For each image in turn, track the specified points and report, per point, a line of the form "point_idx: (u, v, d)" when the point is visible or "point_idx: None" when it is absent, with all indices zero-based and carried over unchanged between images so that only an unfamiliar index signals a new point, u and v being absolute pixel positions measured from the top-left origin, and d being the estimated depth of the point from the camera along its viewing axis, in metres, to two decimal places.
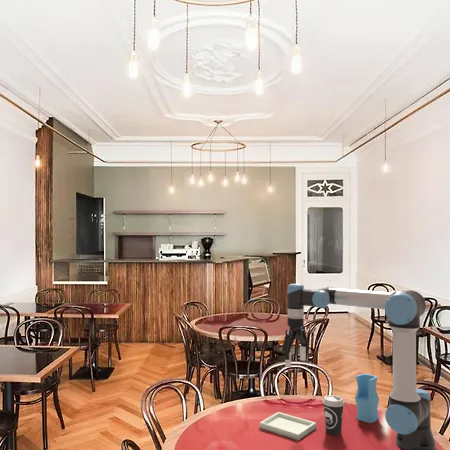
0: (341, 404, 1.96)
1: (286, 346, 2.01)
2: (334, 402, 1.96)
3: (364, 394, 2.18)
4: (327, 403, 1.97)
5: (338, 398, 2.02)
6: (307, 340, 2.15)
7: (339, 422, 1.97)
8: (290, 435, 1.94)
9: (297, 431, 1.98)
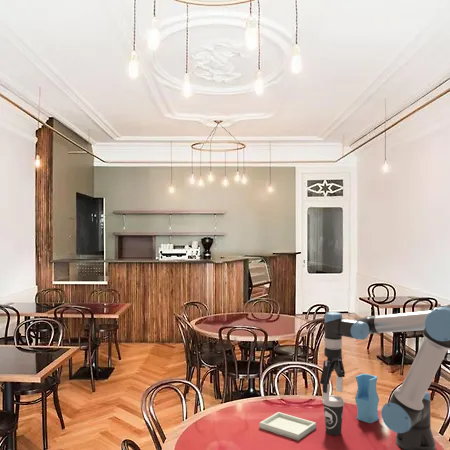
0: (341, 404, 1.96)
1: (324, 379, 1.93)
2: (334, 402, 1.96)
3: (364, 394, 2.18)
4: (327, 403, 1.97)
5: (338, 398, 2.02)
6: None
7: (339, 422, 1.97)
8: (290, 435, 1.94)
9: (297, 431, 1.98)
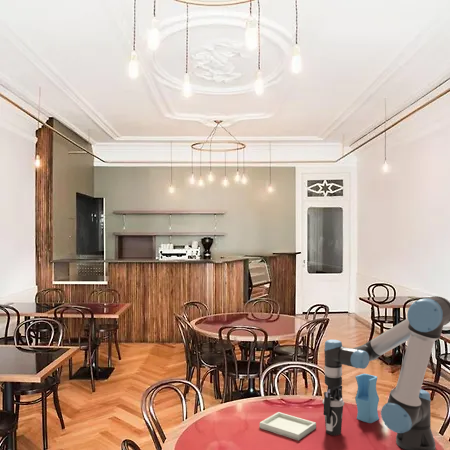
0: (341, 404, 1.96)
1: (327, 410, 1.94)
2: (334, 402, 1.96)
3: (364, 394, 2.18)
4: None
5: None
6: None
7: (339, 422, 1.97)
8: (290, 435, 1.94)
9: (297, 431, 1.98)
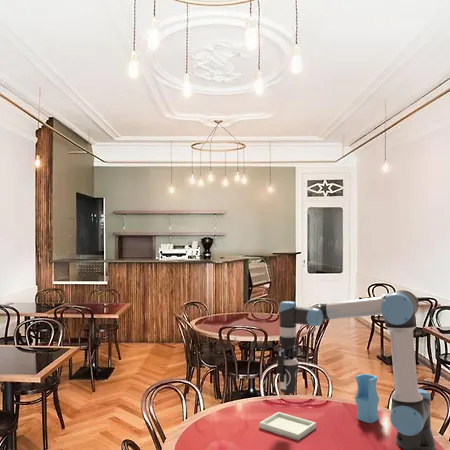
0: (294, 363, 2.01)
1: (280, 369, 1.99)
2: (288, 361, 2.01)
3: (364, 394, 2.18)
4: None
5: (293, 358, 2.06)
6: None
7: (292, 380, 2.01)
8: (290, 435, 1.94)
9: (297, 431, 1.98)
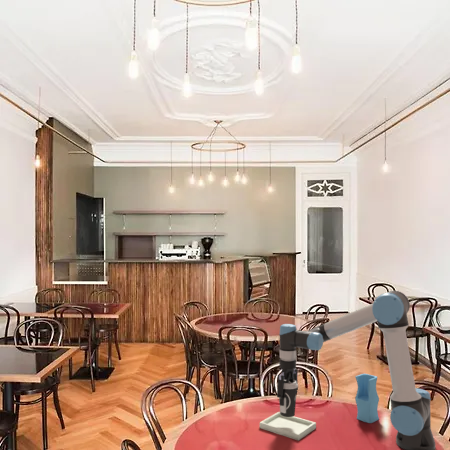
0: (294, 386, 2.01)
1: (280, 392, 1.98)
2: (288, 384, 2.01)
3: (364, 394, 2.18)
4: None
5: None
6: None
7: (292, 404, 2.01)
8: (290, 435, 1.94)
9: (297, 431, 1.98)
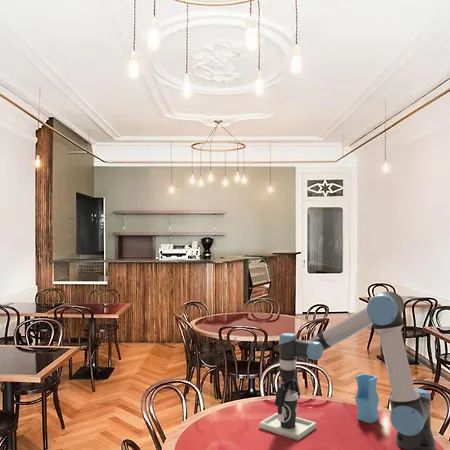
0: (295, 398, 2.00)
1: (278, 400, 1.97)
2: (288, 396, 2.00)
3: (364, 394, 2.18)
4: None
5: (293, 392, 2.06)
6: (299, 391, 2.10)
7: (293, 416, 2.01)
8: (290, 435, 1.94)
9: (297, 431, 1.98)
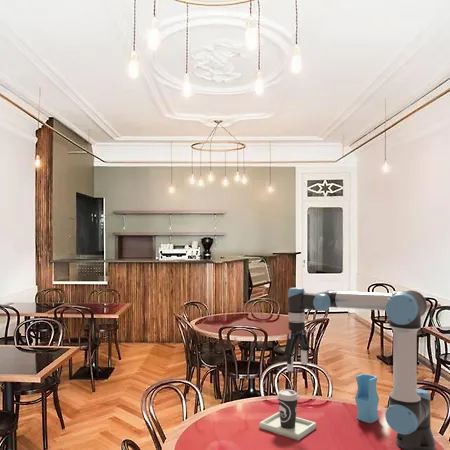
0: (294, 398, 2.01)
1: (288, 350, 2.00)
2: (288, 396, 2.00)
3: (364, 394, 2.18)
4: (281, 397, 2.01)
5: (293, 392, 2.06)
6: (308, 344, 2.15)
7: (293, 416, 2.01)
8: (290, 435, 1.94)
9: (297, 431, 1.98)
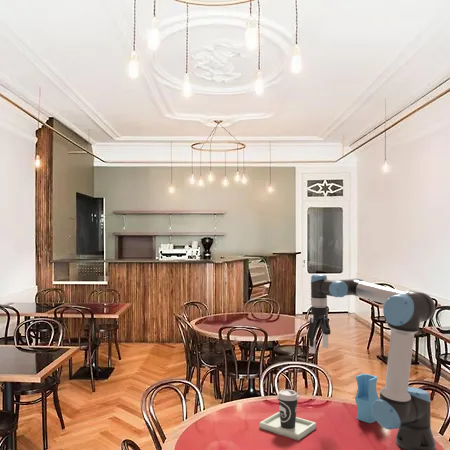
0: (294, 398, 2.01)
1: (311, 333, 2.11)
2: (288, 396, 2.00)
3: (364, 394, 2.18)
4: (281, 397, 2.01)
5: (293, 392, 2.06)
6: (329, 328, 2.25)
7: (293, 416, 2.01)
8: (290, 435, 1.94)
9: (297, 431, 1.98)
